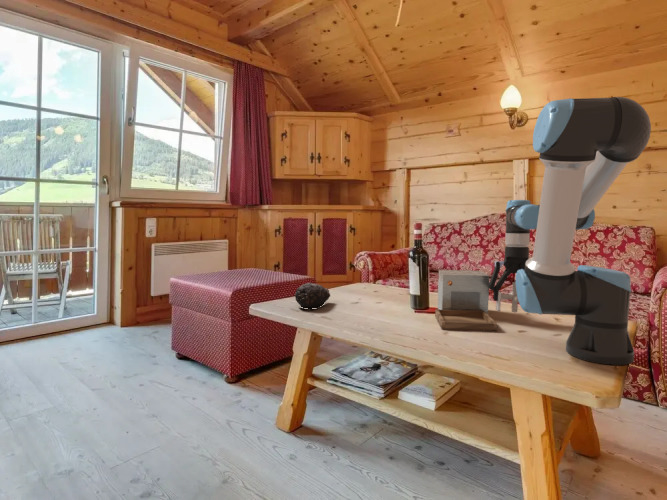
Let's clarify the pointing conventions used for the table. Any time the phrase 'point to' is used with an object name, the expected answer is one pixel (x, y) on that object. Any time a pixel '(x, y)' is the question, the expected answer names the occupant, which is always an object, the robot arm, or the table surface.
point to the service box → (463, 290)
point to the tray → (465, 320)
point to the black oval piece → (311, 295)
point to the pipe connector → (512, 297)
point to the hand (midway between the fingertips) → (514, 310)
